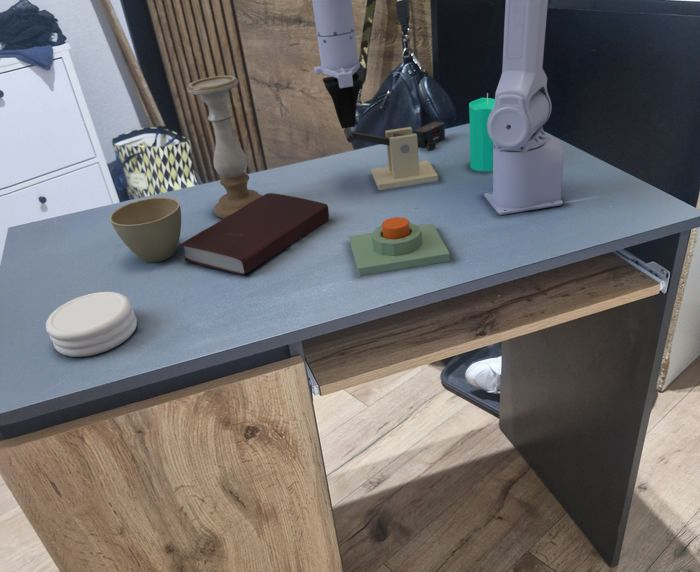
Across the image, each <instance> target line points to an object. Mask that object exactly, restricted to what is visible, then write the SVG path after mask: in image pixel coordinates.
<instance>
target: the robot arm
mask: <svg viewBox="0 0 700 572" xmlns="http://www.w3.org/2000/svg"><path fill="white" fill-rule="evenodd" d="M311 2H312V8H313V9H312V10H313V15H314V23H315V30H316V38H317V46H318V51H319V60H320V65H317V66H316V65H315V66H314V67H313V71H314V74H324V75H326V76H327V77H324V78H322V83H323V85H324V88H325V89H326V91H327V93H328V94H329V96H330V98H331V99H332V103H333V106H334V111H335V113H336V117H337V120H338V122H339V125H340V127H341V129H343V130H344V129H345V128H349V129H351V128H355V127H356V119H357V103H358V98H359V94H360V90H361V88H362V85H363V81H362V79H359V73H358V72H357V71H358V70H359V69H360V68H361V63H360V61H359V55H358V46H357V37H356V27H355V18H354V9H353V0H311ZM548 3H549V0H505V5H504V6H505V8H504V9H505V10H504V27H503V51H502V67H501V68H502V69H501V75H500V79H499V82H498V85H497V87H496V90H495V95H494V99H495V104H494V108H493V110H492V112H491V113H490V115H489V118H488V122H487V130H488V134H489V136H490V138H491V140H492V141H493V171H492V191H490V192H485V193H484V195H483V196H484V198H485V200H486V201H488V203H489V204H490V205H491V207H492V208H493V209H494V210H495V212H496V213H497V214H498V215H500V216H501V215H502V216H503V215H508V214H509V215H510V214H515V213H522V212H528V211H535V210H541V209H547V208H553V207H559V206H563V204H564V201H563V200H562V195H563V194H562V191H563V176H564V165H565V164H564V163H565V162H564V157H565V156H564V150H563V146H562V143H561V142H560V140H559V138H557V137H555V136H551V137H549V136H548V137H547V136H546V132H545V131H544V128H543V127H544V125H545V124H546V123H547V122H548V120H549V119H550V116H551V114H552V108H553V106H552V101H551V97H550V96H549V92H548V87H547V86H548V76H547V74H546V72H545V70H544V68H543V65H544V51H545V40H546V28H547V16H548V15H547V14H548V6H549V5H548Z"/></svg>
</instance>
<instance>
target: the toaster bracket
mask: <svg viewBox="0 0 700 572" xmlns="http://www.w3.org/2000/svg"><path fill="white" fill-rule="evenodd" d="M394 133H395V134H401V135H403V136H396V137H393V136H394ZM385 137H387V138H389V141H390V146H388V145H386V153H387V166H383V167H376V168H371V175H372V178H373V180H374V182H375V185H376V187H377V190H378V191H384V190H388V189H389V190H391V189H396V188H402V187H407V186H414V185H421V184H428V183H432V182H439V174H438V173H437V172H436V170H435V169H434V167H433V166H432V164H431V163H430V161H429V160H427V159H426V160H419V159H420V158H419V147H418V142H417V134H416V133H415V132H414V133H413V128H412V126H408V127H407V126H406V127H401V128H395V129H394V128H393V129H388V130H385Z"/></svg>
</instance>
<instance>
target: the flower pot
mask: <svg viewBox="0 0 700 572" xmlns="http://www.w3.org/2000/svg"><path fill="white" fill-rule="evenodd" d="M109 222H110V223H111V225H112V227H113V229H114V231H115V232H116V234H117V236H118V237H119V238H120V240H121V241H122V242H123V243H124V245H125V247H127V248H128V250H130V251H131V253H133V254H134V255H135V256H136V257H137V258H139V259H140V260H141V261H143V262H146V263H158V262H163V261H166V260H168V259H170V258H172V257H174V255H175V254H176V251H177V249H178V245H179V242H180V237H181V231H182V208H181V202H180V201H179V200H177V199H176V198H173V197H168V196H156V197H149V198H143V199H138V200H135V201H132V202H129V203H126V204H124V205H122V206H120V207H118V208H116V209H115V210H114V211H113V212H111V214H110V215H109Z"/></svg>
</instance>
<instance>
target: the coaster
mask: <svg viewBox="0 0 700 572" xmlns="http://www.w3.org/2000/svg"><path fill="white" fill-rule="evenodd" d="M137 325H138V319H137V316H136V315H135V311H134V309H133V307H132V302H131V300H130V299H129V298H128V297H127V296H126V295H124V294H123V293H119V292H115V291H97V292H92V293H89V294H84V295H81V296H78V297H76V298H73V299H71V300H69V301H67V302H65V303H63V304H62V305H60V306H59V307H57V308H56V309H54V310H53V311H52V312H51V314H50V315H49V316H48V318H47V320H46V322H45V330H46V332H47V334H48V335H49V339H50V341H51V343H52V344H53V348H54V349H55V350H56V351H57V353H59V354H61V355H63V356H65V357H66V356H67V357H71V358H84V357H85V358H86V357H92V356H95V355H99V354H102V353H105V352H107V351H110V350H113V349H114V348H116V347H119V346H120V345H121V344H123V343H125V342H126V341H127V340H128V339H129V338H130V337H131V336H132V335H133V333H134V332H135V330H136V329H137Z"/></svg>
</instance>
